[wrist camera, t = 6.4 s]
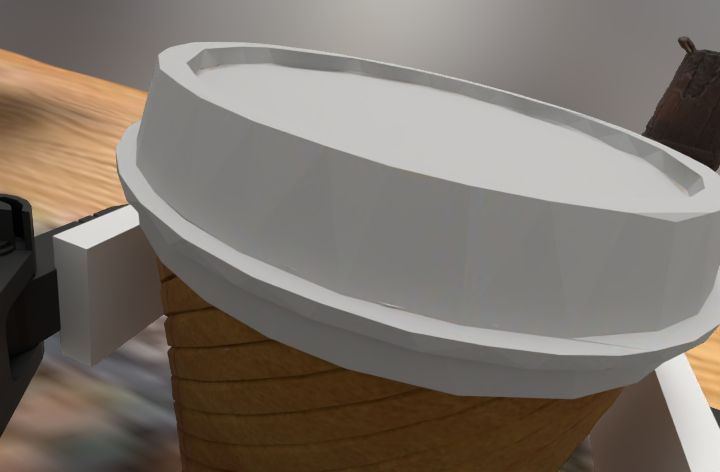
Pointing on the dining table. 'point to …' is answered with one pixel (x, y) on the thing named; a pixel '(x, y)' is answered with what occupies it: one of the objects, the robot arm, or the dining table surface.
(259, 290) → the disposable coffee cup
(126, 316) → the robot arm
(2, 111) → the dining table surface
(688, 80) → the butter churn
